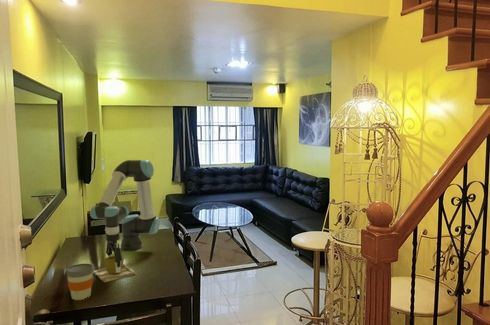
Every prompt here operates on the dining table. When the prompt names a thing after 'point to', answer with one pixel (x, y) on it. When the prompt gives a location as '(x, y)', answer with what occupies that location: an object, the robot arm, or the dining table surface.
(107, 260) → the flower pot
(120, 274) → the holder tray
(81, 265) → the reusable coffee cup
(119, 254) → the robot arm
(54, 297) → the dining table surface
